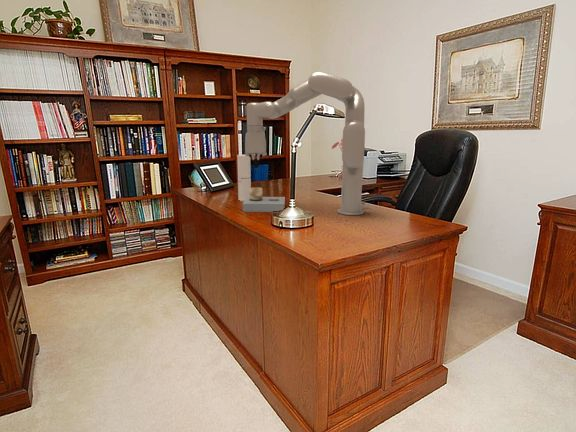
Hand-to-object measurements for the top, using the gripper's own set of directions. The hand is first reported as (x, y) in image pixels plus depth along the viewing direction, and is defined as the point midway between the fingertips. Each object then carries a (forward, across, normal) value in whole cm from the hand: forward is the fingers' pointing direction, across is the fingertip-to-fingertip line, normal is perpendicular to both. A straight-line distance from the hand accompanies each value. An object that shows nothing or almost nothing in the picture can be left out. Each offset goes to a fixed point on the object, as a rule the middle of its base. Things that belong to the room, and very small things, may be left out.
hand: (256, 167), depth 173 cm
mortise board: (+20, -4, 0) cm, 21 cm away
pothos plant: (+21, -61, -105) cm, 123 cm away
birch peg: (+20, +1, 0) cm, 20 cm away
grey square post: (+20, +9, -21) cm, 31 cm away
